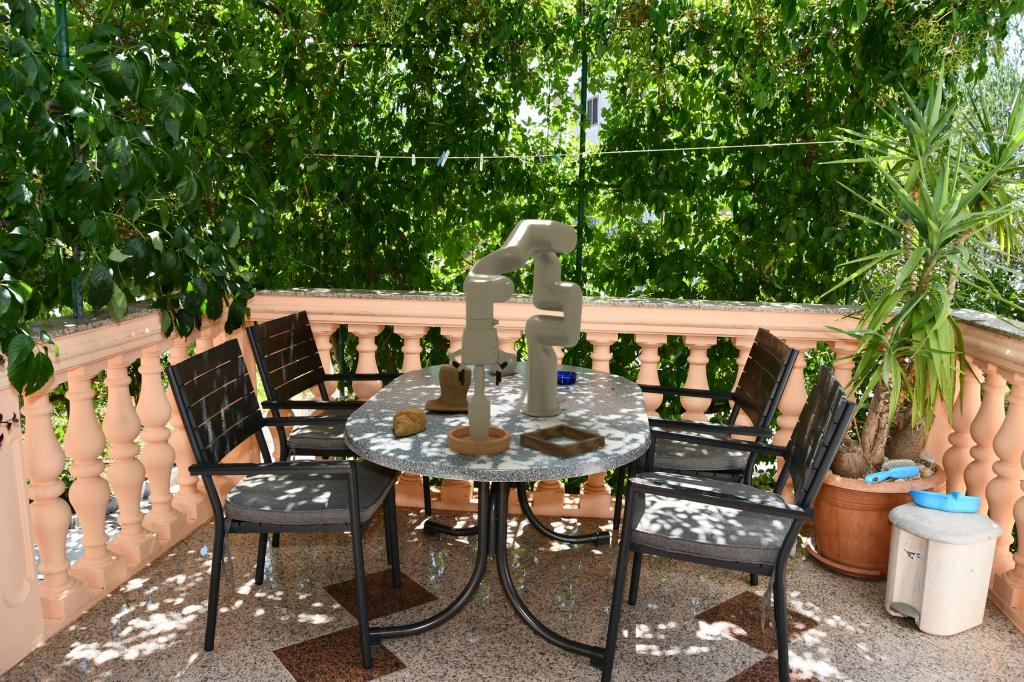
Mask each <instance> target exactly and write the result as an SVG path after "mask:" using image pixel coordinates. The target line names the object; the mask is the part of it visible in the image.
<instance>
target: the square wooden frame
mask: <svg viewBox="0 0 1024 682" xmlns="http://www.w3.org/2000/svg"><path fill="white" fill-rule="evenodd" d="M561 435H563V436H561ZM558 436H559V437H565V436H567V437H566V438H568V437H570V438H569V439H571V438H573V439H572V440H574V439H576V440H575V442H572V443H568V444H564V445H561V444H558V443H556V442H552V441H549V440H551V439H555V438H559V437H558ZM554 437H555V438H554ZM550 438H551V439H550ZM547 439H548V440H547ZM578 440H580V441H578ZM519 445H520V446H523V447H526V448H529V449H532V450H535V451H538V452H542V453H544V454H547V455H550V456H553V457H556V456H557V458H559V457H561V458H560V459H562V458H564V457H567V458H569V457H568V456H571V457H573V456H572V455H574V456H576V455H575V454H578V455H580V454H579V453H581V454H583V453H582V452H585V453H587V452H586V451H588V452H590V451H589V450H592V451H594V450H593V449H595V450H598V449H597V448H599V447H602V448H604V447H603V446H605V447H606V436H604V435H601V434H597V433H595V432H591V431H587V430H584V429H581V428H577V427H574V426H570V425H568V424H564V423H561V424H557V425H553V426H549V427H544V428H542V429H541V428H540V429H536V430H533V431H528V432H524V433H521V434H520V435H519ZM599 449H600V448H599ZM564 459H565V458H564Z"/></svg>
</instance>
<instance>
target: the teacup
mask: <svg viewBox="0 0 1024 682" xmlns="http://www.w3.org/2000/svg"><path fill="white" fill-rule="evenodd" d="M505 352H506V351H505ZM506 353H508V354H510V355H511V359H510V361H509V363H508V365H507V366H506V367H505V368H504V369H503V370H502V371H501V376H509V375H512V374H513V373H514V372H515V370H516V368H517V361H518V360H517V359H518V354H516V353H513V352H508V351H507V352H506ZM504 361H505V358H504V357H503V356H501V355H499V359H498V362H499V363H500V364H502V363H503V362H504ZM488 366H489V370H490V371H491V372H492V373H493V374H494V375H496V370H497V369H496V368H495V367H494V366H493V365H488Z"/></svg>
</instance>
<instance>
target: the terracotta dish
mask: <svg viewBox="0 0 1024 682" xmlns="http://www.w3.org/2000/svg"><path fill="white" fill-rule="evenodd" d="M511 435H512V434H511V433H510V432H509V430H508V429H505V428H503V427H500V426H495V425H490V426H489V434H488V441H479V442H475V441H471V436H470V428H469V425H463V426H460V427H455V428H452V429H451V430H449V431H447V433H446V440H447V441H446V443H447V447H449V448H450V449H451V451H452V450H453V451H452V452H454V451H455V453H457V452H458V453H457V454H463V455H469V456H488V455H489V456H490V455H496V454H499V453H500V454H501V453H503V452H505V451H508V450H509V448H510V445H511V443H512V442H511V440H512V439H511V437H512V436H511ZM449 448H448V449H449ZM450 449H449V450H450Z"/></svg>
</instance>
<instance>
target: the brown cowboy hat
mask: <svg viewBox="0 0 1024 682" xmlns="http://www.w3.org/2000/svg"><path fill="white" fill-rule="evenodd" d="M464 370H465V383H464V385H463V386H461V382H459V371H458V370H457V369H456V368H455V367H454V366H453V365H452V364H442V365H440V368H439V371H438V381H439V388H440V396H439V397H437V398H436V399H430V400H427V401H426V403H425V404H424V410H425V411H428V412H442V413H443V412H444V413H445V412H448V413H451V412H453V413H454V412H456V413H457V412H468V402H469V401H468V400H467V395H468V392H469V389H470V387H471V384H472V373H473V372H472V369H471V367H468V366H465V367H464Z"/></svg>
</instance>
